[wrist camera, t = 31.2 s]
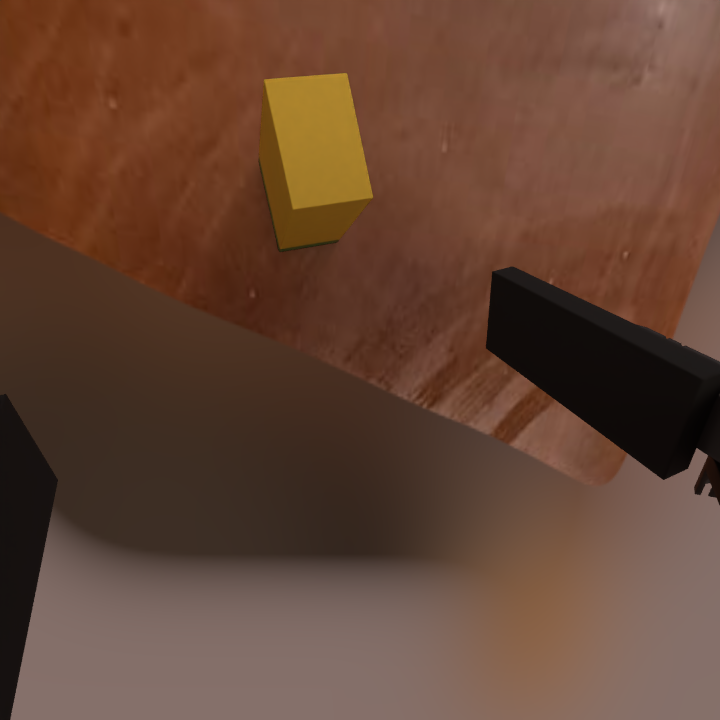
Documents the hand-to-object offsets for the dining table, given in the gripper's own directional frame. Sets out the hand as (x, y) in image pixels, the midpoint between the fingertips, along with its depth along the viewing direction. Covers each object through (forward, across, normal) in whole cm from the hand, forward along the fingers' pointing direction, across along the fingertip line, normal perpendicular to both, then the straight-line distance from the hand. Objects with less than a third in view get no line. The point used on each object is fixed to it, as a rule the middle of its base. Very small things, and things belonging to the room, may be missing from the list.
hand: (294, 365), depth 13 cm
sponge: (+20, +6, 0) cm, 21 cm away
